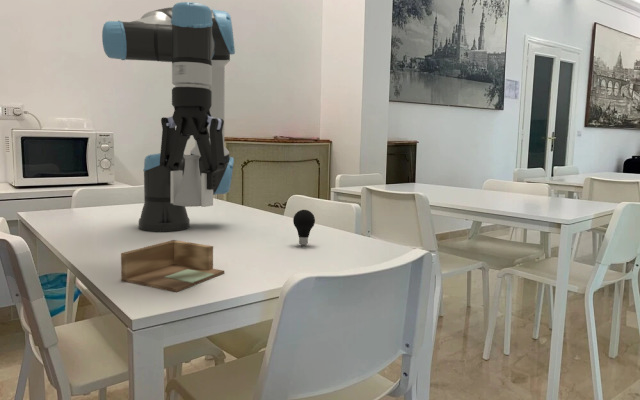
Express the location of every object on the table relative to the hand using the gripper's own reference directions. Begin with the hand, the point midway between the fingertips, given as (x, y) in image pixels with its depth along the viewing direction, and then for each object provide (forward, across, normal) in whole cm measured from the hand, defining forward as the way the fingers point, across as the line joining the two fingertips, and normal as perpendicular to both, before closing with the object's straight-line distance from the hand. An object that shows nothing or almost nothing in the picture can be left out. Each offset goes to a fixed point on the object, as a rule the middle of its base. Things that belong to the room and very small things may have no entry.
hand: (191, 204), depth 100 cm
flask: (0, 0, 0) cm, 0 cm away
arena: (+16, -4, 0) cm, 16 cm away
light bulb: (+15, +5, +40) cm, 43 cm away
